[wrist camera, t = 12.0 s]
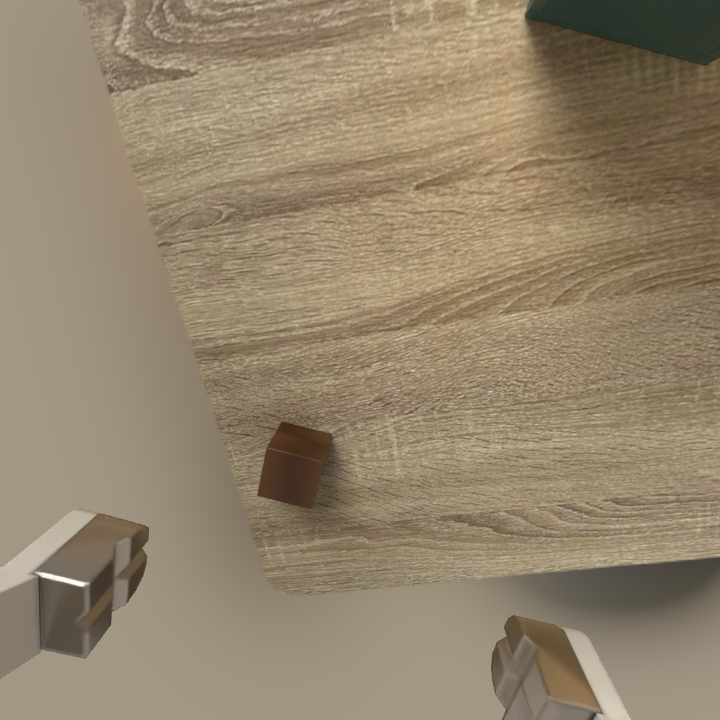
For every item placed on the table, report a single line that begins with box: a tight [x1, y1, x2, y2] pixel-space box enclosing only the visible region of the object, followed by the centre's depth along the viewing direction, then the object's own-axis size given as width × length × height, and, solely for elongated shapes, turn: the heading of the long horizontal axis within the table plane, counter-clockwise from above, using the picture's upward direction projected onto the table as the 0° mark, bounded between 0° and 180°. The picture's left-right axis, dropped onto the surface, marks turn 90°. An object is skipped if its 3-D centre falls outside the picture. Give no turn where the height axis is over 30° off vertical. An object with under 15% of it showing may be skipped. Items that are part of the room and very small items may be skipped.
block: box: [257, 422, 332, 509], centre depth 30 cm, size 4×4×4 cm
